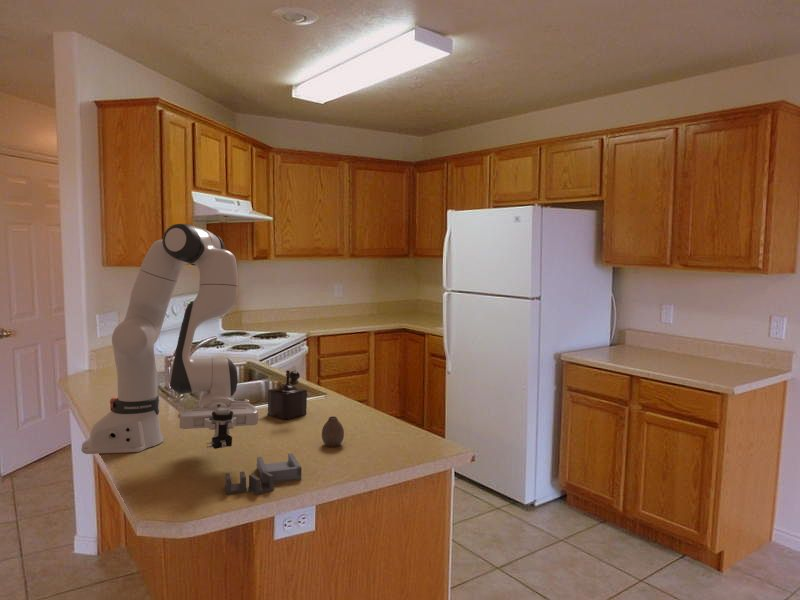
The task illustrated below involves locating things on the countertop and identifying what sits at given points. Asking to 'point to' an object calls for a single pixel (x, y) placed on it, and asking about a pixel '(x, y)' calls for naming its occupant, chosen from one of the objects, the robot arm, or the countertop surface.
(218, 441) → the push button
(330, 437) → the vase
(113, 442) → the robot arm
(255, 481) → the clip
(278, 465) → the end holder
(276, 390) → the black box with knob
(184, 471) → the countertop surface
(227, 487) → the clip
